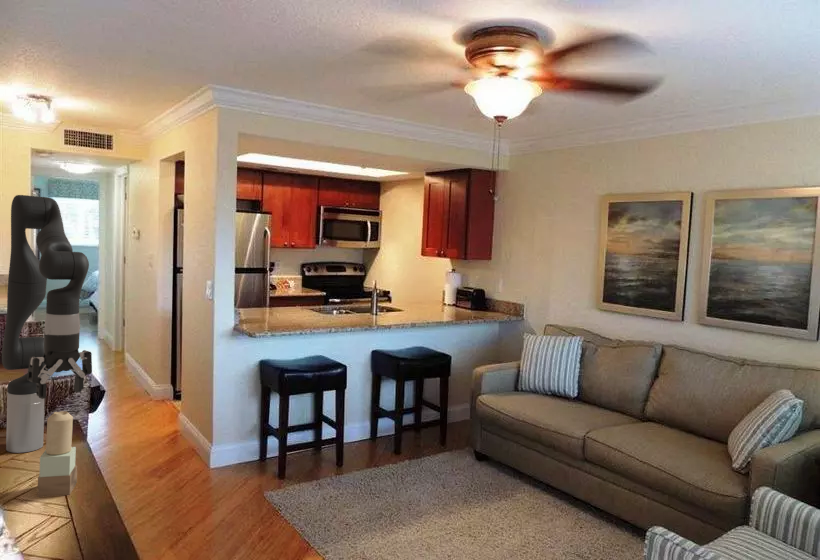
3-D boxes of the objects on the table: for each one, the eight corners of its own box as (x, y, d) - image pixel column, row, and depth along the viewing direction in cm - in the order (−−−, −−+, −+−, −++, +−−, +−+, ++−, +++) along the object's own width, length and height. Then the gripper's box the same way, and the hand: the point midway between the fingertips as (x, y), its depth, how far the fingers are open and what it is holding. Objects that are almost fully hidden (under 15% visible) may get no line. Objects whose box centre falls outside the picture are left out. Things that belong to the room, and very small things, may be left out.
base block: (46, 485, 147) (46, 466, 147) (76, 483, 149) (77, 465, 149) (37, 497, 141) (37, 477, 140) (69, 495, 143) (70, 475, 143)
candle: (59, 456, 141) (61, 416, 141) (40, 453, 142) (42, 413, 142) (76, 449, 147) (78, 410, 146) (57, 446, 148) (59, 408, 148)
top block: (46, 467, 147) (47, 448, 146) (75, 465, 149) (75, 446, 149) (39, 477, 141) (39, 457, 140) (69, 475, 143) (70, 455, 142)
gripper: (83, 326, 151) (81, 386, 152) (23, 331, 139) (21, 397, 140) (98, 330, 147) (96, 392, 148) (38, 336, 135) (36, 403, 136)
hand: (60, 394), depth 144 cm, fingers open, 8 cm apart
